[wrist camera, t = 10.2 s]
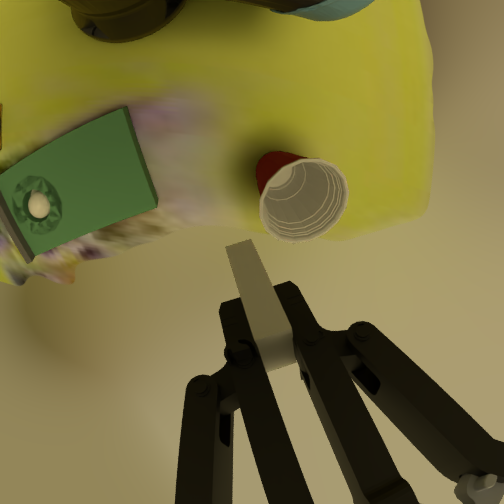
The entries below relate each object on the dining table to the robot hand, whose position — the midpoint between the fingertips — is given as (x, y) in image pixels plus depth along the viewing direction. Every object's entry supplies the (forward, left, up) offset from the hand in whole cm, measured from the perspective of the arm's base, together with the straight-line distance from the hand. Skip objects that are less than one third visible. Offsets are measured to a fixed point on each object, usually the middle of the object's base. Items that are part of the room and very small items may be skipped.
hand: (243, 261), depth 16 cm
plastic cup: (+5, +9, -25) cm, 27 cm away
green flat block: (-3, -19, -24) cm, 31 cm away
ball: (-3, -24, -22) cm, 33 cm away
